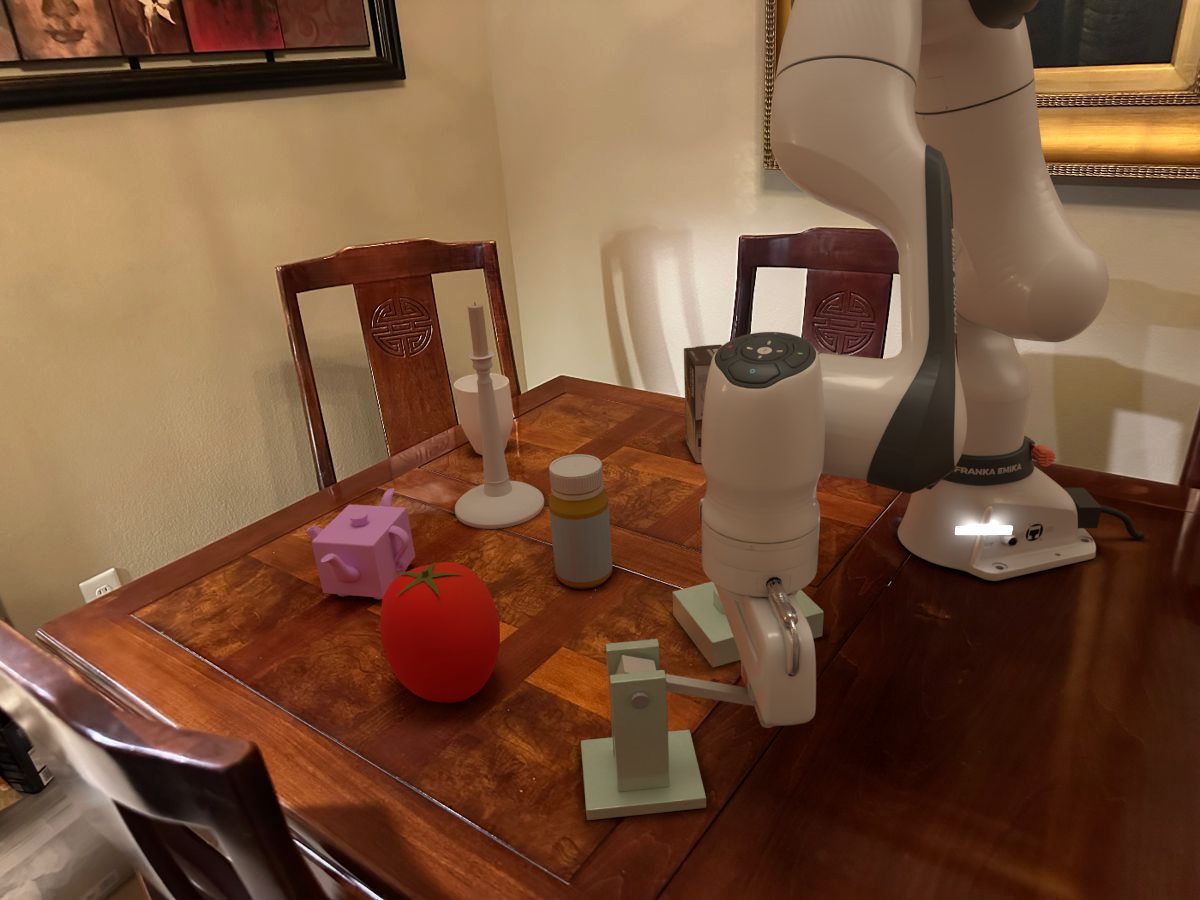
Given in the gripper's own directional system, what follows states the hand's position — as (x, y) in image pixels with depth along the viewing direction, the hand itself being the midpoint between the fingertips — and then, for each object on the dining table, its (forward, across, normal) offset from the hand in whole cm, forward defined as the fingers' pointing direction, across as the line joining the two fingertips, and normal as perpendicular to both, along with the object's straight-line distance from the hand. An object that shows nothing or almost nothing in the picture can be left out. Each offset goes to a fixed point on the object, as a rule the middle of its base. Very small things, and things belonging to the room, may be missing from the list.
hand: (755, 689), depth 70 cm
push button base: (+8, +20, -4) cm, 22 cm away
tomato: (+9, +15, +28) cm, 33 cm away
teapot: (+9, +36, +40) cm, 54 cm away
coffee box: (+9, +66, -9) cm, 67 cm away
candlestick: (+9, +53, +24) cm, 59 cm away
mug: (+9, +75, +26) cm, 80 cm away
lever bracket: (+8, 0, +10) cm, 13 cm away
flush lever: (0, 0, +6) cm, 6 cm away
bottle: (+9, +33, +13) cm, 36 cm away
